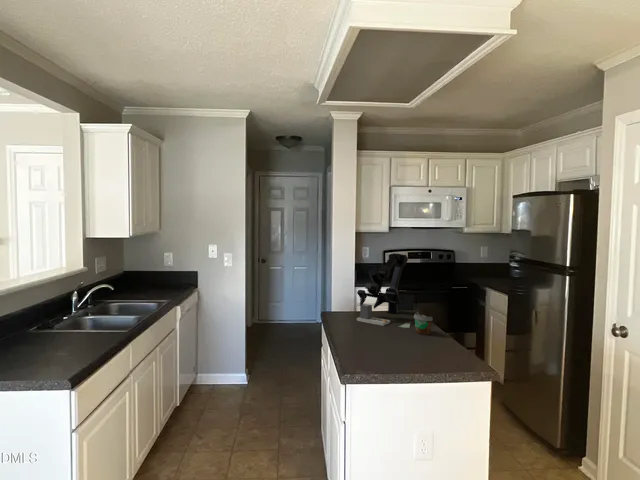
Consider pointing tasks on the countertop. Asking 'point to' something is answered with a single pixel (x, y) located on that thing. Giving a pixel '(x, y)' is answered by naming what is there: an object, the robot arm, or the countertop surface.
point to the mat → (404, 325)
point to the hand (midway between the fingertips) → (367, 307)
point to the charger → (365, 311)
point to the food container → (423, 324)
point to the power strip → (374, 321)
